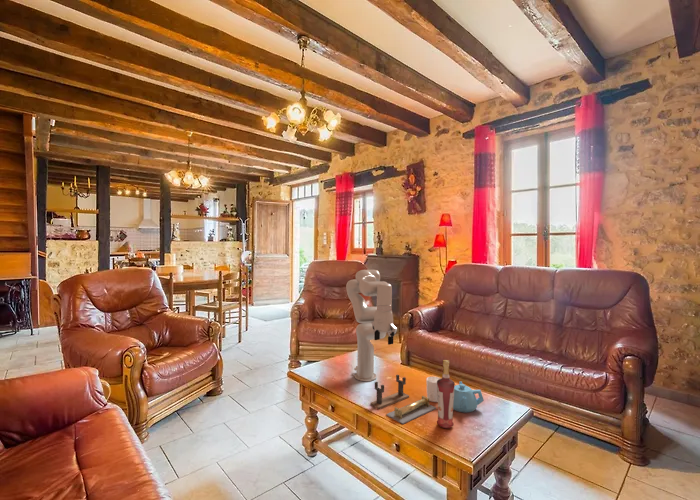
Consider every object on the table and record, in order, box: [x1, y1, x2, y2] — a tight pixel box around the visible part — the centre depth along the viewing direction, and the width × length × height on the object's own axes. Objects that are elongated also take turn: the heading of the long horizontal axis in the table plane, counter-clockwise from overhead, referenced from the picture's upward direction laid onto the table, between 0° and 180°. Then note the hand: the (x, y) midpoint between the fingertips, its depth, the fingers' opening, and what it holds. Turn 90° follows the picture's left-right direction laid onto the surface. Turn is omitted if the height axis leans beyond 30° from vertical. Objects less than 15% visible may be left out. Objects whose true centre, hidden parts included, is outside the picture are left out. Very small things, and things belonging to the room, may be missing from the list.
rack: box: [369, 374, 410, 410], centre depth 171 cm, size 6×21×10 cm, turn 129°
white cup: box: [425, 376, 442, 403], centre depth 173 cm, size 8×8×10 cm
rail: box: [394, 395, 430, 419], centre depth 160 cm, size 20×4×4 cm, turn 129°
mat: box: [386, 399, 437, 425], centre depth 160 cm, size 10×23×1 cm, turn 129°
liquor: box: [436, 359, 455, 430], centre depth 148 cm, size 7×7×28 cm
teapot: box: [453, 381, 485, 414], centre depth 166 cm, size 15×15×11 cm
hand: (383, 341), depth 174 cm, fingers open, 9 cm apart
